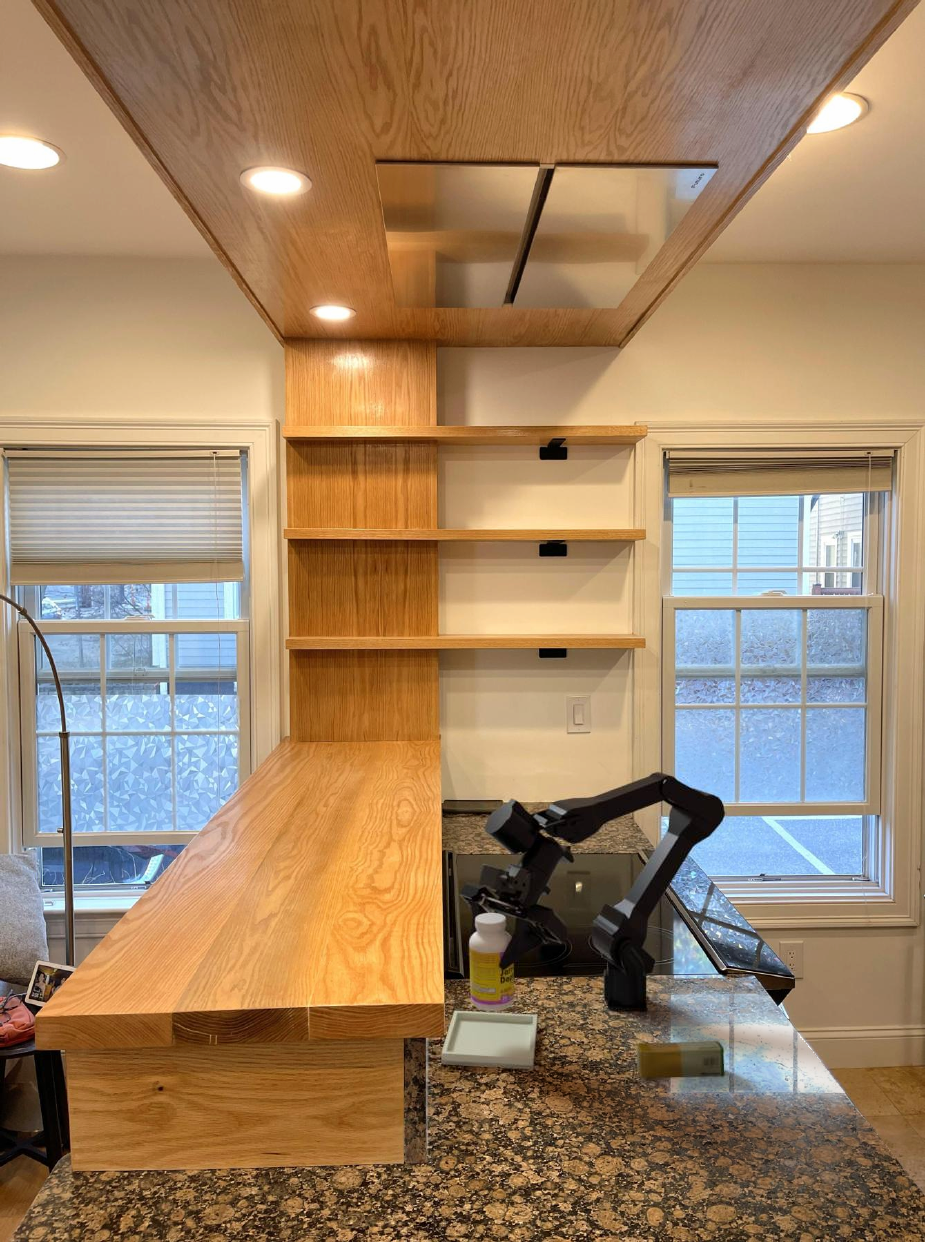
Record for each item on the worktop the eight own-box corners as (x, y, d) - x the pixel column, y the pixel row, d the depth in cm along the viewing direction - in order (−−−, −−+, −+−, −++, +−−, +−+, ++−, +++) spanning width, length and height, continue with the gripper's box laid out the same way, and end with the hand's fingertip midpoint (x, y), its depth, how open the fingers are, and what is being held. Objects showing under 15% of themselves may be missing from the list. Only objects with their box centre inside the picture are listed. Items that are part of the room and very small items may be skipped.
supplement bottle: (504, 1016, 126) (501, 928, 126) (463, 1008, 129) (460, 922, 129) (521, 997, 132) (519, 913, 132) (482, 989, 135) (479, 908, 135)
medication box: (719, 1067, 124) (719, 1039, 124) (726, 1077, 121) (725, 1048, 121) (636, 1069, 124) (635, 1041, 124) (640, 1079, 121) (639, 1051, 121)
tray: (537, 1024, 137) (537, 1014, 137) (532, 1069, 124) (532, 1058, 123) (454, 1020, 138) (454, 1010, 138) (441, 1064, 125) (441, 1053, 125)
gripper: (466, 831, 140) (415, 917, 133) (553, 855, 126) (500, 952, 119) (502, 869, 145) (454, 953, 138) (588, 895, 132) (541, 990, 124)
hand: (484, 961), depth 130 cm, fingers closed on supplement bottle, 7 cm apart
